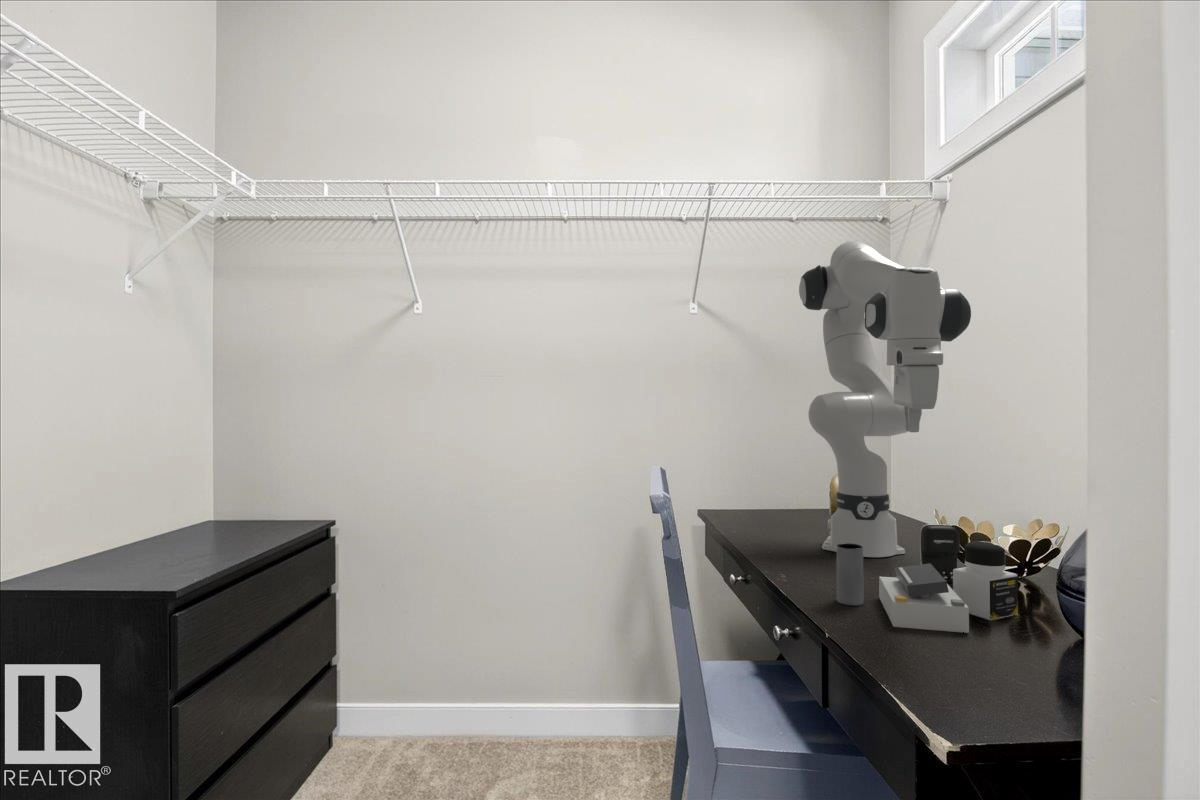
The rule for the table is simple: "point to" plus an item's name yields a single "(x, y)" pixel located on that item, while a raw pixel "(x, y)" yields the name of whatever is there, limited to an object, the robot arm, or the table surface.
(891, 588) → the panel
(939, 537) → the battery charger
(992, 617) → the medicine bottle
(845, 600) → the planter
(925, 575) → the dark gray slim case
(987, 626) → the table surface
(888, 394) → the robot arm
